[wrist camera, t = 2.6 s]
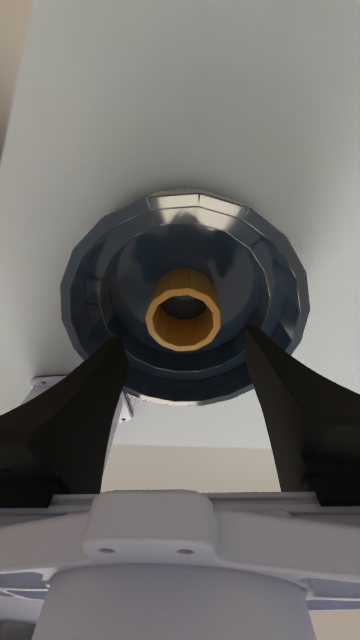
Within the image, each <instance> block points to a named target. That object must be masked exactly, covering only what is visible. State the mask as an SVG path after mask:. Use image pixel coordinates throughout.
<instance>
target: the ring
mask: <svg viewBox="0 0 360 640" xmlns="http://www.w3.org/2000/svg"><path fill="white" fill-rule="evenodd" d="M182 295H190V296H192V297H195V298H197V299H200V300H202V301H204V302H205V304H206V305H207V307H206V309H205V310H204V312H203V313H202V314H200V315H198V316H197V317H195V318H193V319H183V320H180V319H177V318H174V317H172V316H169V315H168V314H167V313H166V312H165V311H164V310H163V309H162V307H161V306H160V304H161V303H162V302H164V301H165V300H167V299H168V298H170V297H171V296H182ZM145 320H146V324H147V328H148V332H149V334H150V335H151V336H152V337H153V338H154V339H155V340H156V341H157V342H158V343H159V344H160V345H162V346H164V347H167V348H170V349H172V350H175V351H190V350H197V349H199V348H201V347H203V346H205V345H206V344H208V343H210V342H211V341H212V340H213V339H214V337H215V336H216V334H217V332H218V331H219V329H220V327H221V316H220V308H219V304H218V299H217V295H216V291H215V287H214V286H213V284H212V283H211V282H210V280H209V279H208V277H207V276H206V275H205V274H203V273H200V272H198V271H196V270H193V269H191V268H182V269H173V270H170V271H169V272H167V273H166V274H165V275H163V276H162V277H160V278H159V279H158V280H157V282H156V285H155V287H154V290H153V292H152V296H151V299H150V302H149V305H148V309H147V312H146V315H145Z"/></svg>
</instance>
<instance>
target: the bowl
mask: <svg viewBox="0 0 360 640" xmlns="http://www.w3.org/2000/svg"><path fill="white" fill-rule="evenodd" d="M182 268H191V269H193V270H196V271H198V272H200V273H203V274H205V275H206V276H207V277H208V279H209V280H210V282H211V283H212V284H213V286H214V287H215V291H216V295H217V299H218V304H219V308H220V316H221V327H220V329H219V331H218V332H217V334H216V336H215V337H214V339H213V340H212V341H211V342H210V343H208V344H206V345H205V346H203V347H201V348H199V349H197V350H190V351H175V350H172V349H170V348H167V347H164V346H162V345H160V344H159V343H158V342H157V341H156V340H155V339H154V338H153V337H152V336H151V335H150V334H149V332H148V328H147V324H146V320H145V315H146V312H147V309H148V305H149V302H150V299H151V296H152V292H153V290H154V287H155V285H156V282H157V280H158V279H159V278H160V277H162V276H163V275H165V274H166V273H167V272H169V271H170V270H173V269H182ZM60 289H61V312H62V321H63V324H64V326H65V328H66V331H67V333H68V336H69V338H70V340H71V343H72V345H73V348H74V349H75V350H76V351H77V353H78V354H79V355H80V356H81V357H82V359H83V360H84V361H85V360H86V359H87V358H88V357H90V356H91V355H92V354H93V353H94V352H95V351H96V350H97V349H98V348H99V347H100V346H101V345H102V344H103V343H104V342H105V341H107V340H108V339H109V338H110V337H117V336H121V339H122V342H123V345H124V348H125V352H126V355H127V358H128V361H129V365H128V371H127V376H126V380H125V383H124V386H123V389H122V391H123V392H126V393H128V394H130V395H133V396H135V397H138V398H140V399H143V400H145V401H150V402H156V403H161V404H166V405H172V406H195V405H207V404H212V403H216V402H221V401H225V400H230V399H233V398H235V397H237V396H239V395H241V394H243V393H246V392H248V391H250V390H252V389H254V386H253V383H252V381H251V378H250V375H249V372H248V369H247V365H246V360H245V356H244V349H245V329H246V327H248V326H258V327H259V328H260V329H261V330H262V331H263V332H264V333H265V334H266V335H267V336H268V337H269V338H270V339H272V340H273V341H274V342H275V343H276V344H277V345H278V346H280V347H281V348H282V349H283V350H284V351H285V352H287V353H288V354H289V355H292V353H293V352H294V350H295V349H296V347H297V346H298V345H299V343H300V341H301V339H302V336H303V332H304V329H305V325H306V322H307V318H308V315H309V311H310V303H309V293H308V284H307V274H306V271H305V269H304V267H303V265H302V264H301V262H300V260H299V258H298V256H297V255H296V253H295V251H294V249H293V247H292V246H291V244H290V242H289V240H288V238H287V237H286V236H285V235H284V234H283V233H282V232H280V231H279V230H278V229H277V228H275V227H274V226H273V225H271V224H270V223H269V222H268V221H266V220H265V219H264V218H263V217H261V216H260V215H259V214H257V213H256V212H255V211H254V210H252V209H251V208H249V207H248V206H246V205H244V204H242V203H240V202H238V201H236V200H234V199H232V198H228V197H225V196H222V195H218V194H215V193H212V192H208V191H205V190H201V189H198V188H197V189H196V188H190V189H177V190H163V191H157V192H155V193H152V194H150V195H148V196H146V197H144V198H142V199H140V200H137V201H135V202H133V203H131V204H129V205H127V206H125V207H123V208H121V209H118V210H116V211H114V212H112V213H110V214H108V215H106V216H104V217H103V218H101V219H100V221H99V222H98V223H97V224H96V225H95V226H94V227H93V228H92V229H91V230H90V231H89V232H88V234H87V235H86V236H85V237H84V238H83V239H82V240H81V241H80V242H79V243H78V244H77V245H76V246H75V248H74V250H73V251H72V254H71V257H70V259H69V262H68V265H67V268H66V270H65V273H64V276H63V279H62V281H61V286H60ZM160 306H161V307H162V309H163V310H164V311H165V312H166V313H167V314H168V315H169V316H172V317H174V318H177V319H180V320H183V319H193V318H195V317H197V316H198V315H200V314H202V313H203V312H204V310H205V309H206V307H207V305H206V304H205V302H204V301H202V300H200V299H197V298H195V297H192V296H190V295H182V296H171V297H170V298H168V299H167V300H165V301H164V302H162V303H161V304H160Z"/></svg>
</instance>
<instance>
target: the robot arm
mask: <svg viewBox="0 0 360 640" xmlns="http://www.w3.org/2000/svg"><path fill="white" fill-rule="evenodd" d="M244 356H245V360H246V365H247V369H248V372H249V375H250V378H251V381H252V383H253V386H254V389H255V391H256V394H257V397H258V399H259V402H260V405H261V408H262V411H263V415H264V419H265V422H266V426H267V430H268V434H269V438H270V443H271V447H272V451H273V455H274V460H275V464H276V468H277V473H278V478H279V483H280V487H281V492H245V493H199V492H196V491H190V490H115V491H107V492H103V493H102V492H100V490H101V482H102V476H103V473H104V469H105V466H106V462H107V459H108V455H109V452H110V448H111V445H112V441H113V438H114V434H115V431H116V427H117V424H118V422H124V421H131V420H132V414H131V411H130V409H129V406H128V403H127V401H126V398H125V395H124V393H123V391H122V389H123V386H124V383H125V380H126V376H127V371H128V365H129V361H128V358H127V355H126V352H125V348H124V345H123V342H122V339H121V336H117V337H110V338H109V339H108V340H107V341H105V342H104V343H103V344H102V345H101V346H100V347H99V348H98V349H97V350H96V351H95V352H94V353H93V354H92V355H91V356H90V357H88V358H87V359H86V360H85V361H84V362H83V363H82V364H80V365H79V366H78V367H77V368H76V369H75V370H73V371H72V372H71V373H70V374H69V375H67V376H53V377H38V378H33V379H32V380H31V384H32V386H33V389H32V390H31V392H30V393H29V394H28V396H27V397H26V398H25V400H24V401H23V403H22V404H21V405H20V406H19V407H17V408H15V409H13V410H11V411H9V412H7V413H5V414H3V415H1V416H0V640H316V636H315V633H314V629H313V625H312V622H311V618H310V614H309V611H340V610H341V611H345V610H360V394H358V393H355V392H353V391H351V390H349V389H347V388H345V387H342V386H340V385H338V384H336V383H334V382H332V381H331V380H329V379H327V378H325V377H323V376H321V375H320V374H318V373H316V372H314V371H313V370H311V369H310V368H308V367H307V366H305V365H303V364H302V363H300V362H299V361H297V360H296V359H295V358H293V357H292V356H291V355H289V354H288V353H287V352H285V351H284V350H283V349H282V348H281V347H280V346H278V345H277V344H276V343H275V342H274V341H273V340H272V339H270V338H269V337H268V336H267V335H266V334H265V333H264V332H263V331H262V330H261V329H260V328H259V327H258V326H248V327H246V329H245V349H244Z"/></svg>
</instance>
